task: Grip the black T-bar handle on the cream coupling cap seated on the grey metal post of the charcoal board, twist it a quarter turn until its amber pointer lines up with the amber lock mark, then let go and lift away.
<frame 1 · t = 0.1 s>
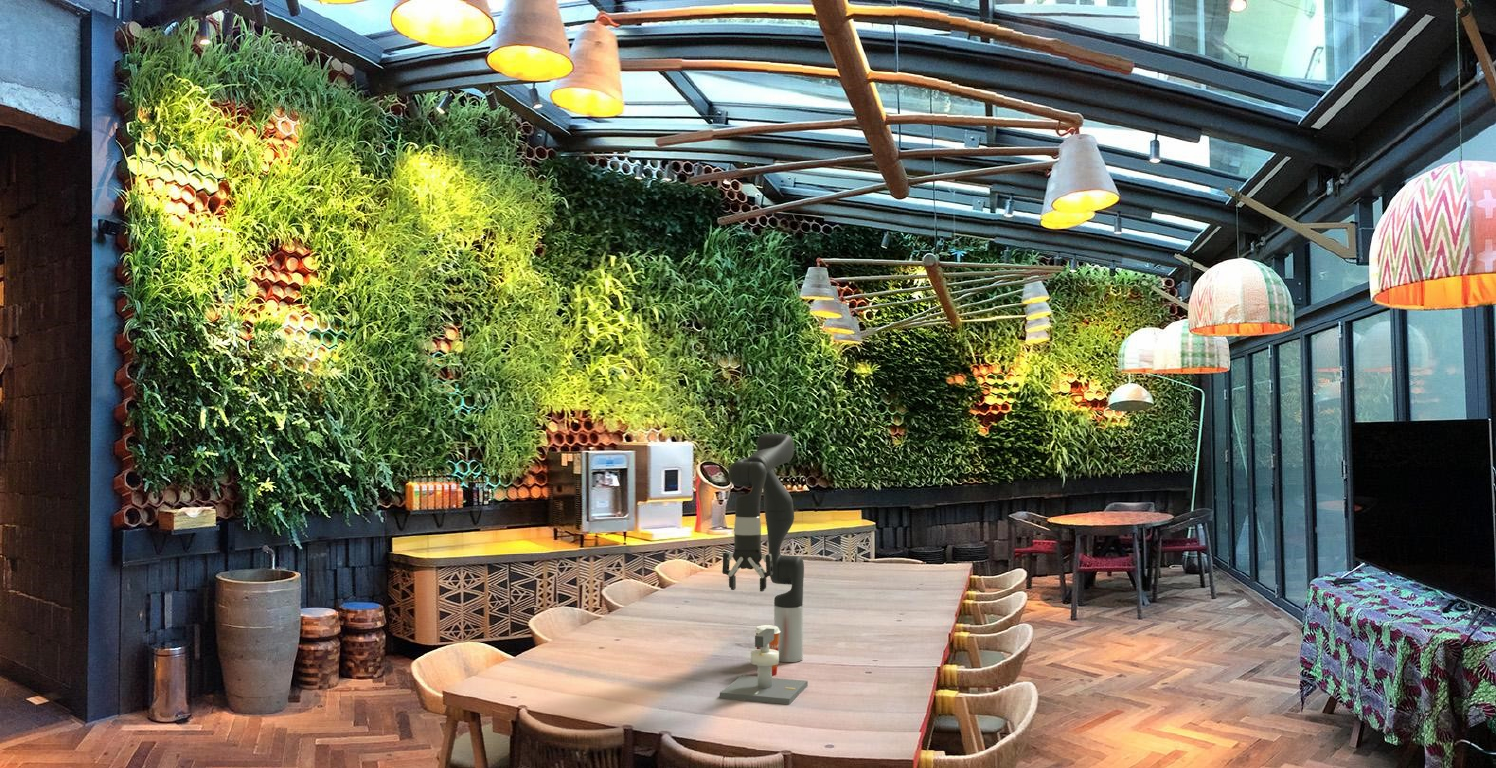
hand: (747, 590, 278), 29 cm above the table, fingers open, 8 cm apart
post board: (764, 691, 280), on the table
coupling: (764, 647, 281), point 12 cm above the table, hinge at 0.0°
paper cup: (767, 674, 301), on the table
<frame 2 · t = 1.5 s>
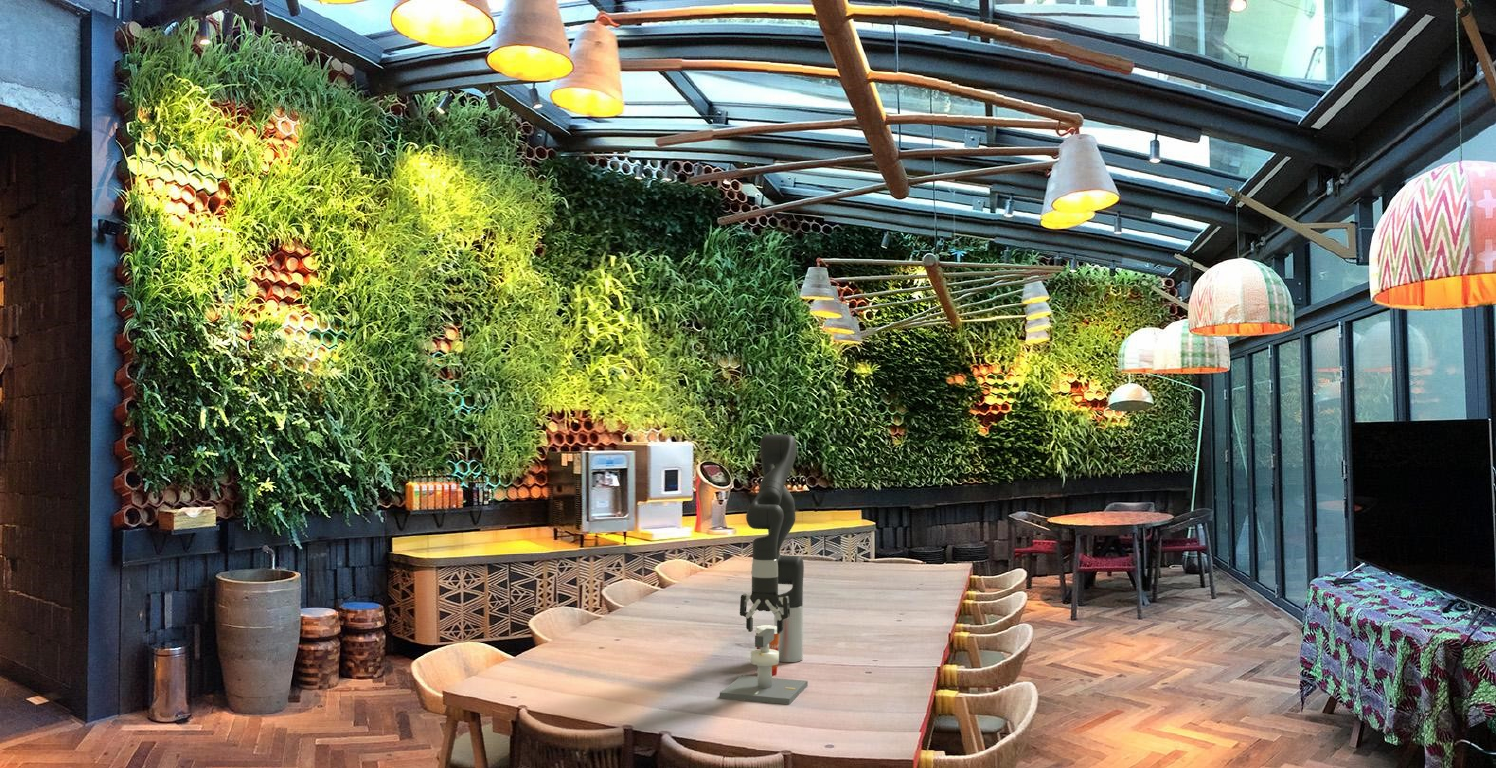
hand: (764, 632, 281), 17 cm above the table, fingers open, 8 cm apart
nothing on the table moved.
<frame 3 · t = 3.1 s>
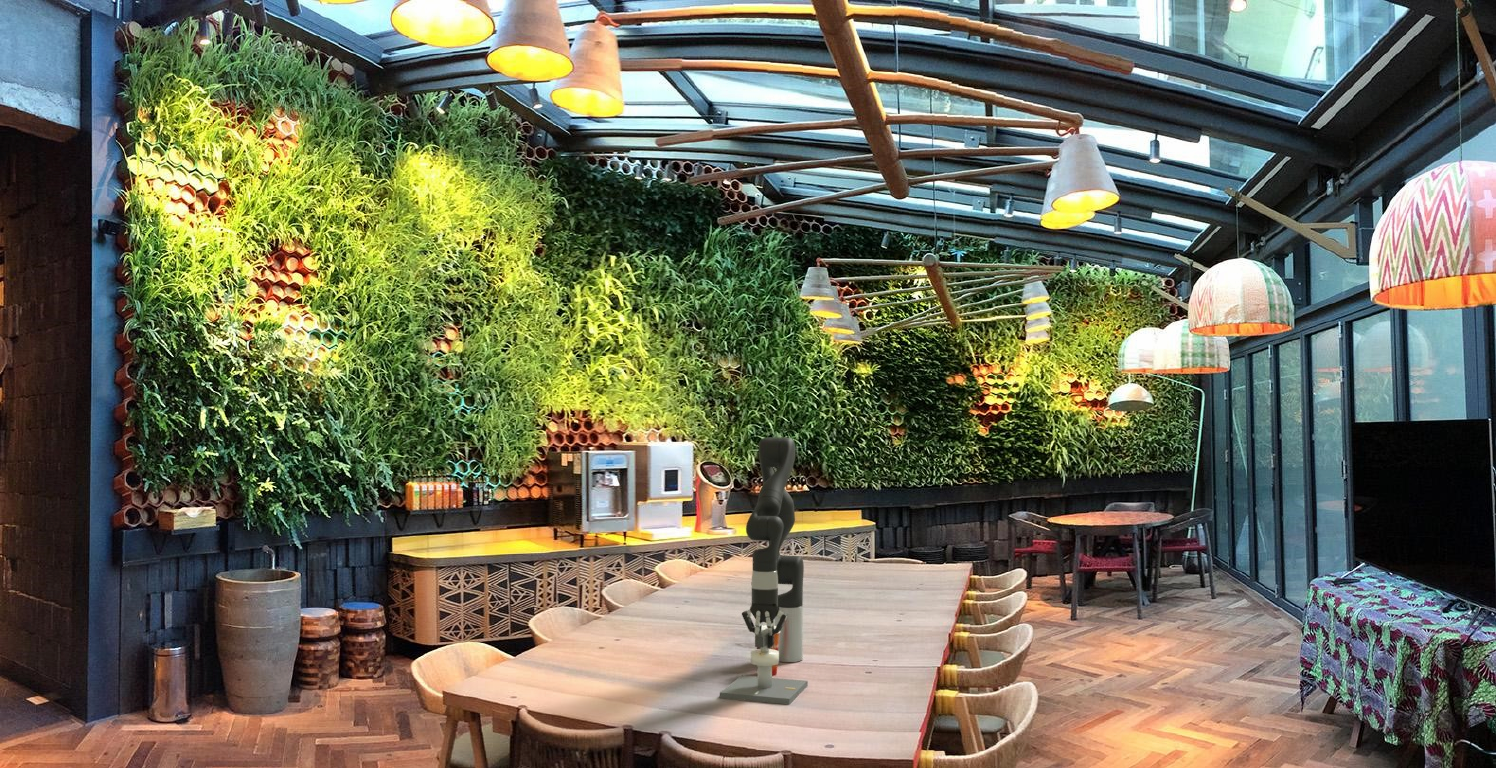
hand: (764, 647, 281), 12 cm above the table, fingers closed on coupling, 2 cm apart
coupling: (764, 647, 281), point 12 cm above the table, hinge at 0.0°, touching gripper
everything else where it was.
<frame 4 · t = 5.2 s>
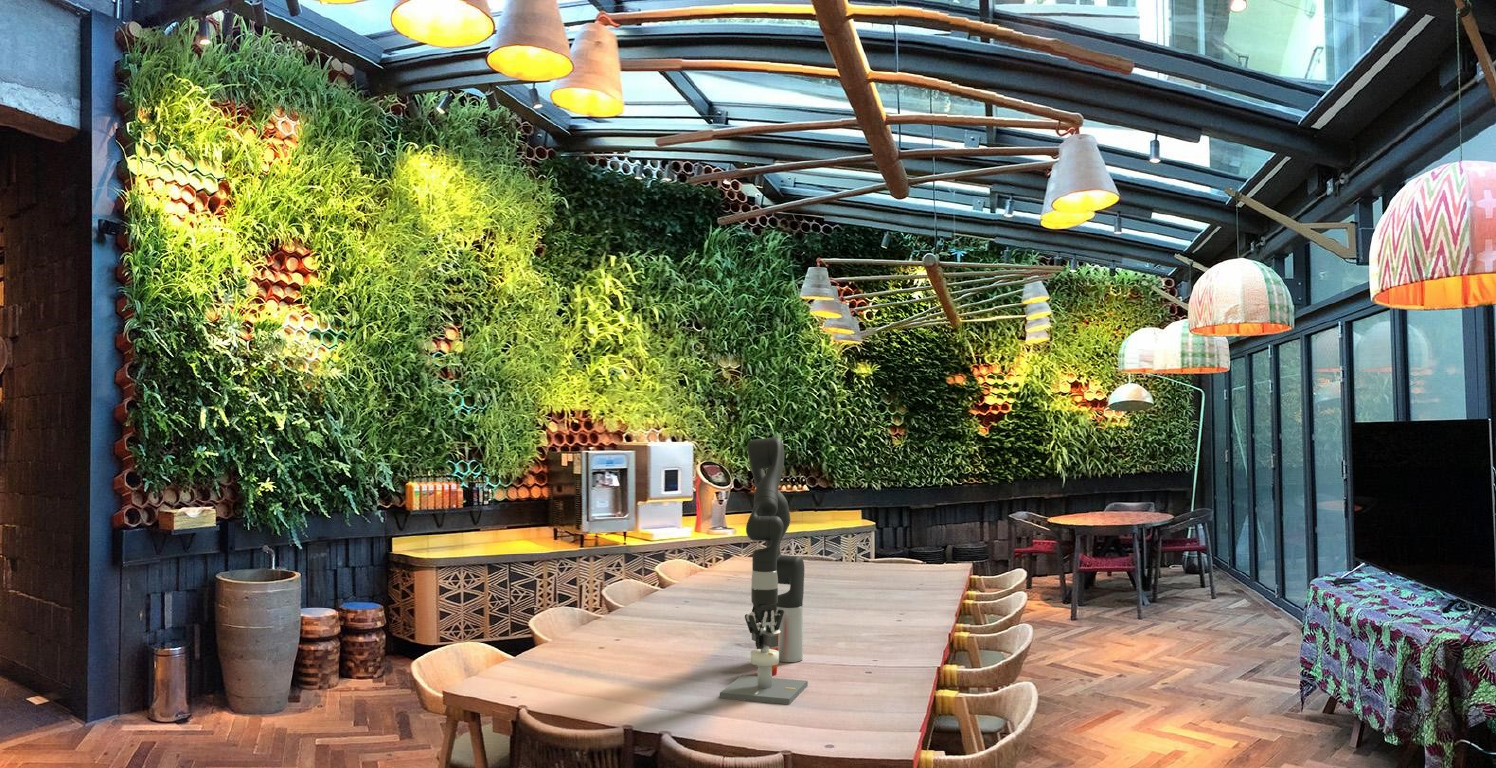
hand: (764, 647, 281), 13 cm above the table, fingers closed on coupling, 3 cm apart
coupling: (764, 647, 281), point 12 cm above the table, hinge at 46.5°, touching gripper
everything else where it was.
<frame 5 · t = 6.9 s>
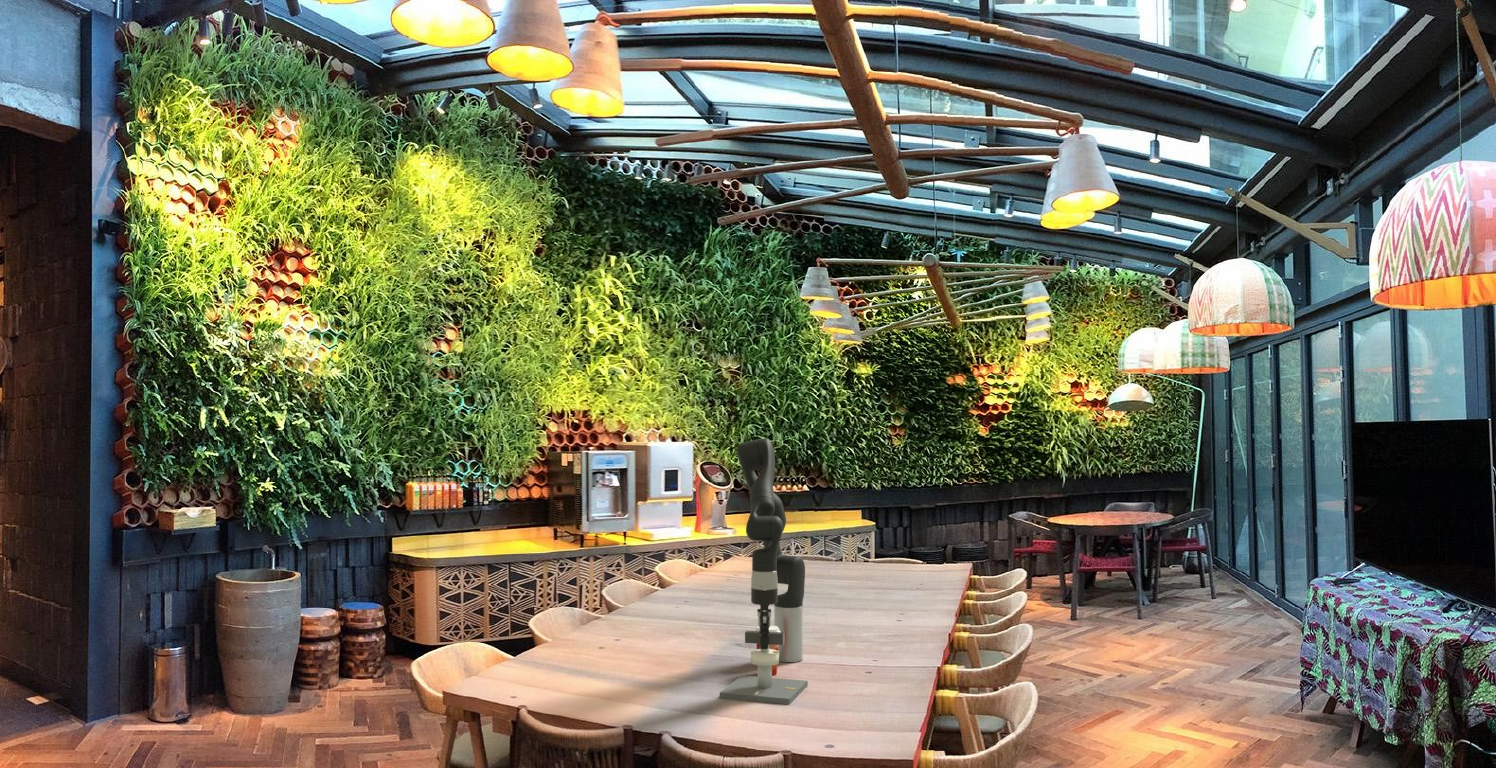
hand: (764, 647, 281), 13 cm above the table, fingers closed on coupling, 3 cm apart
coupling: (764, 647, 281), point 12 cm above the table, hinge at 94.2°, touching gripper
everything else where it was.
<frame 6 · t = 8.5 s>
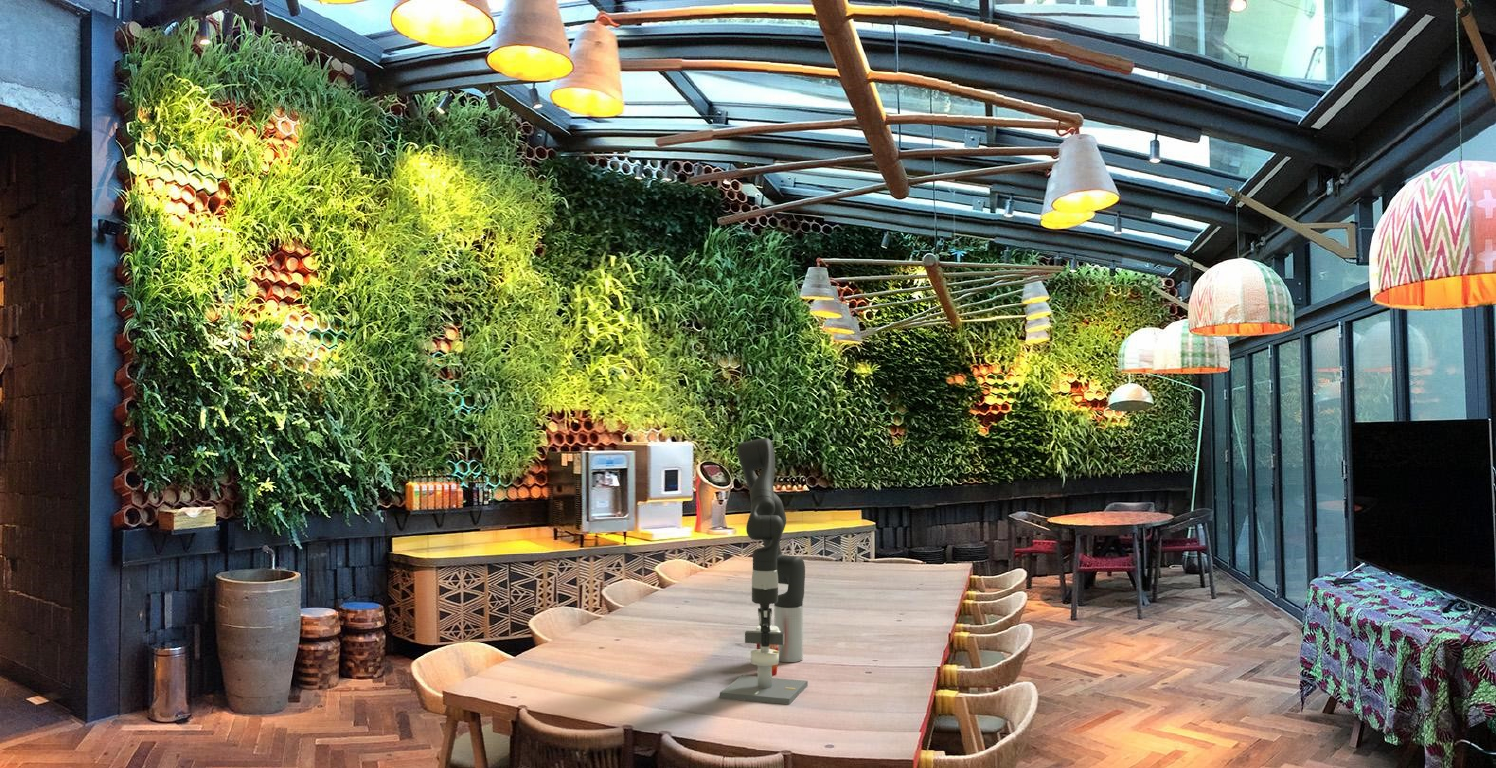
hand: (764, 643, 281), 14 cm above the table, fingers open, 8 cm apart
coupling: (764, 647, 281), point 12 cm above the table, hinge at 94.5°
everything else where it was.
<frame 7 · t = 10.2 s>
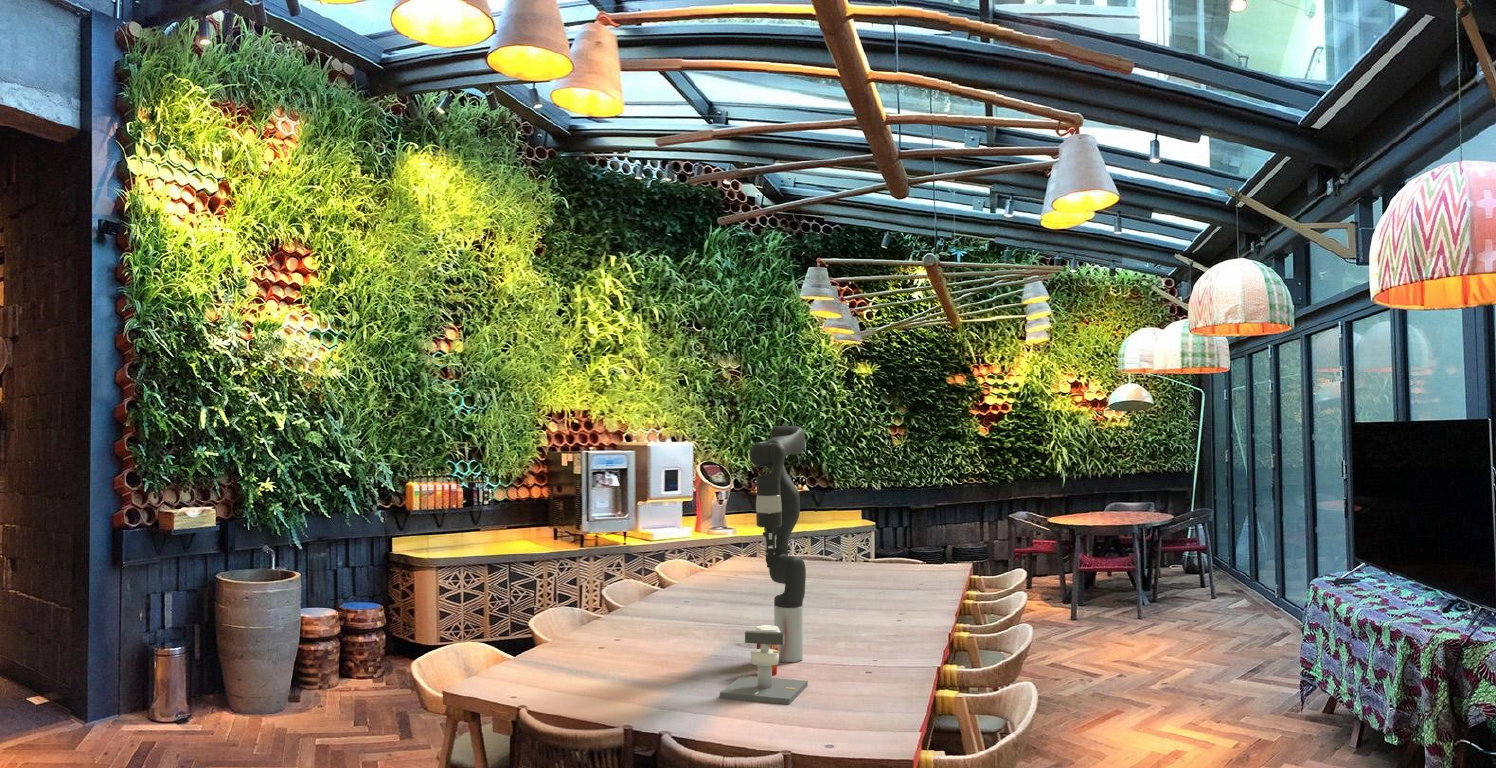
hand: (770, 565, 292), 34 cm above the table, fingers open, 8 cm apart
nothing on the table moved.
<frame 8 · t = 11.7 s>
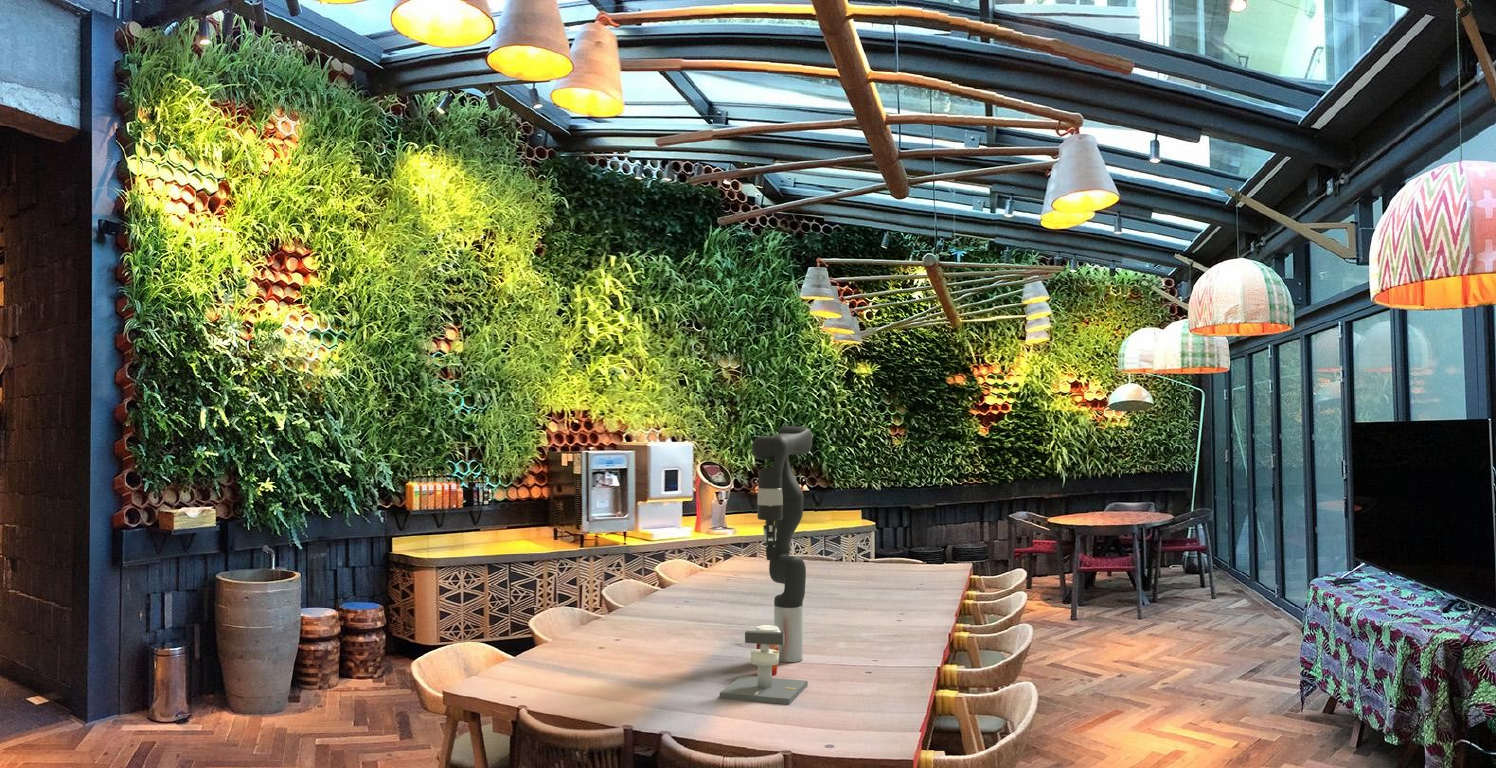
hand: (770, 558, 294), 36 cm above the table, fingers open, 8 cm apart
nothing on the table moved.
at the end: coupling at +95° (first picture: +0°); the gripper is holding nothing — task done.
